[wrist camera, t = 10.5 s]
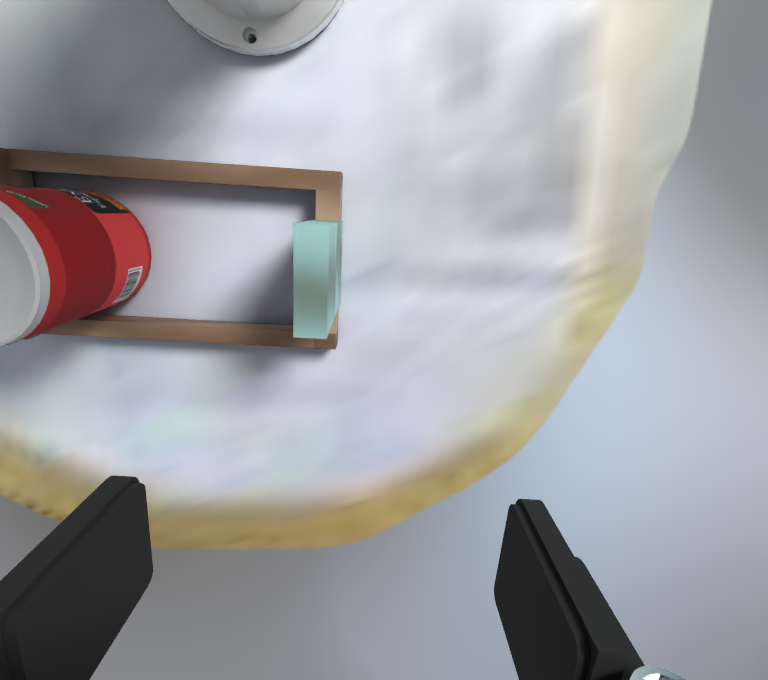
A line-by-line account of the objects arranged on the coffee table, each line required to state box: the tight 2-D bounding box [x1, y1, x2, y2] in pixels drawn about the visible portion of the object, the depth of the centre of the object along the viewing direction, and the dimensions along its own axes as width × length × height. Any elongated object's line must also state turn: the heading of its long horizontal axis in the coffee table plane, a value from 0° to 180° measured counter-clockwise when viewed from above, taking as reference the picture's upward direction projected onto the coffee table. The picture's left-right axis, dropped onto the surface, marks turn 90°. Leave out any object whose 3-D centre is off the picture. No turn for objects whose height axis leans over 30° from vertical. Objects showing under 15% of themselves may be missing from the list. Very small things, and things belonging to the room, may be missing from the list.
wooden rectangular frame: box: [0, 148, 343, 349], centre depth 26 cm, size 12×23×9 cm, turn 86°
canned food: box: [0, 185, 151, 346], centre depth 25 cm, size 8×8×11 cm
